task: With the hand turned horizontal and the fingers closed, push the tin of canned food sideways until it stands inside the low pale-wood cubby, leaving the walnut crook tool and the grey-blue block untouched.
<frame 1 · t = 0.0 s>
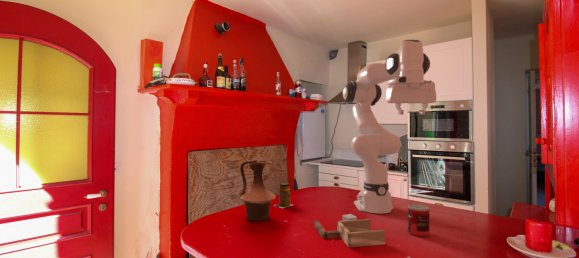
hand: (411, 114, 112), 48 cm above the table, tool pointing down, fingers open, 8 cm apart
block: (349, 226, 121), on the table
canned food: (418, 234, 112), on the table
cubby: (359, 238, 108), on the table
crook tool: (320, 231, 115), on the table
pitcher: (257, 218, 133), on the table
condiment: (283, 206, 152), on the table
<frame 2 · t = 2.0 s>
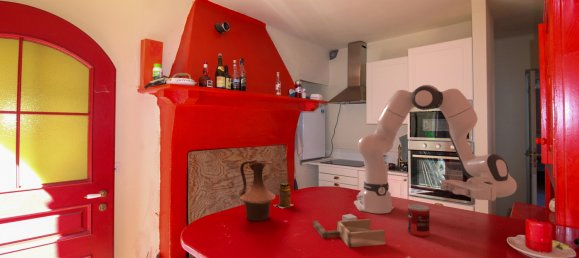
hand: (447, 189, 113), 17 cm above the table, tool horizontal, fingers open, 5 cm apart
nothing on the table moved.
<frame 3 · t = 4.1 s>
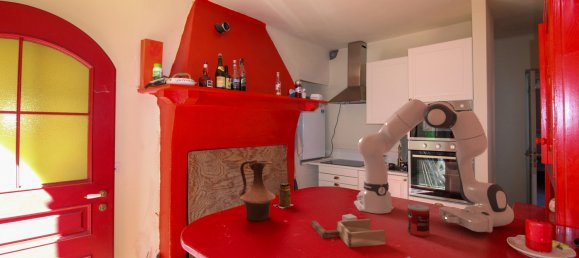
hand: (444, 219, 113), 5 cm above the table, tool horizontal, fingers closed
crook tool: (319, 231, 116), on the table, touching cubby
everything else where it was.
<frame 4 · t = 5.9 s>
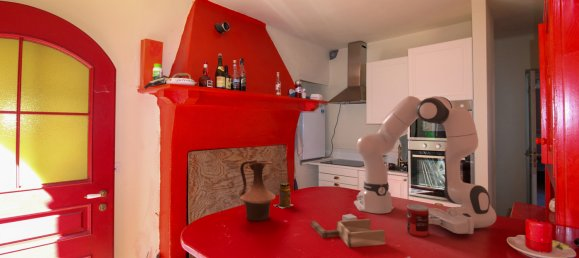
hand: (426, 220, 112), 5 cm above the table, tool horizontal, fingers closed, pressing on canned food
canned food: (417, 234, 112), on the table, touching gripper
everything else where it was.
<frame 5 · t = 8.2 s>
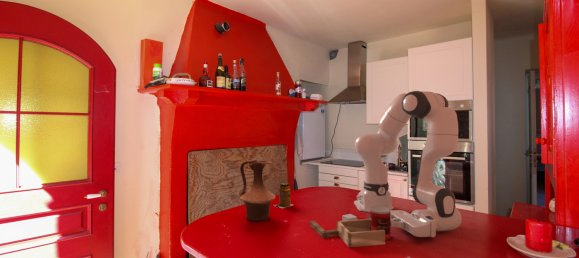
hand: (389, 223, 109), 5 cm above the table, tool horizontal, fingers closed, pressing on canned food
canned food: (380, 237, 109), on the table, touching gripper
crook tool: (318, 231, 116), on the table
everything else where it was.
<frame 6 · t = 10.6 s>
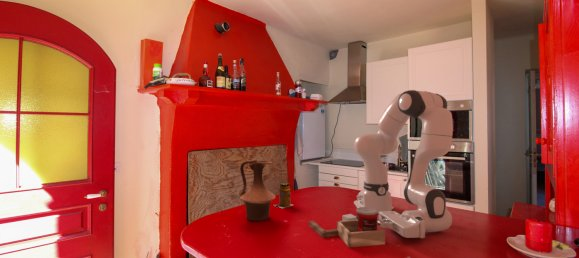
hand: (378, 224, 109), 5 cm above the table, tool horizontal, fingers closed
canned food: (366, 238, 108), on the table
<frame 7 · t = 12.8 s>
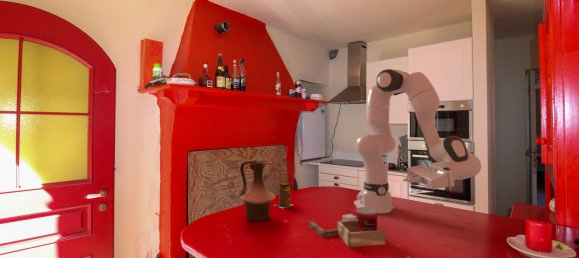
hand: (407, 180, 113), 21 cm above the table, tool horizontal, fingers closed
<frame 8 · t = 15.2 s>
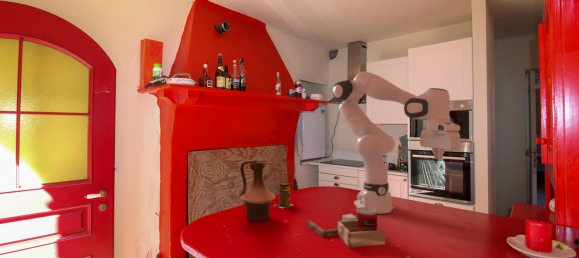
hand: (438, 159, 117), 29 cm above the table, tool pointing down, fingers closed
at the end: canned food inside the target area (3.9 cm from its centre), on the table; canned food tilted 0°; block moved 0.1 cm from its start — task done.
